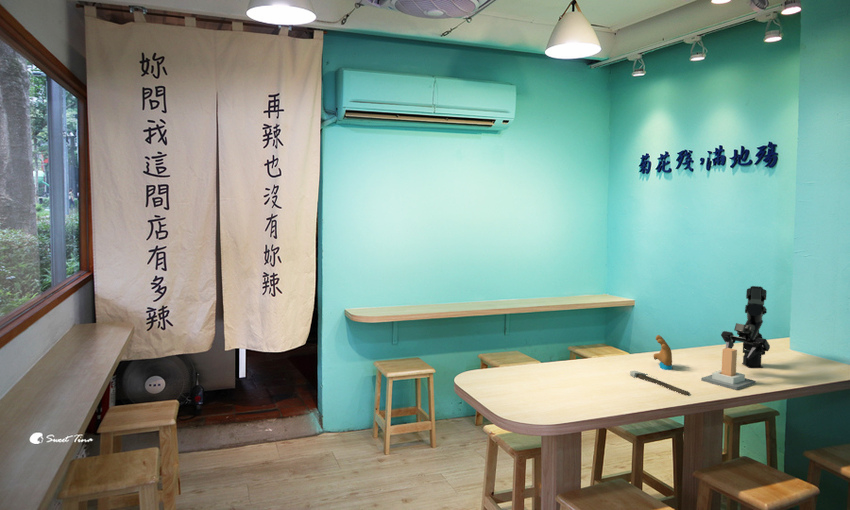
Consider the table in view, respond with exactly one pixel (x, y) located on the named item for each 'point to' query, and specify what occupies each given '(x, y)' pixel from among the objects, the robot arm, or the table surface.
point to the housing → (728, 380)
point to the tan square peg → (729, 361)
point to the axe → (643, 376)
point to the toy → (664, 354)
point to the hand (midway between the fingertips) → (736, 356)
